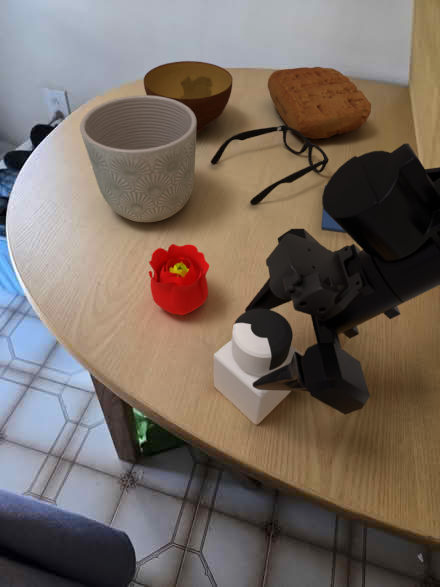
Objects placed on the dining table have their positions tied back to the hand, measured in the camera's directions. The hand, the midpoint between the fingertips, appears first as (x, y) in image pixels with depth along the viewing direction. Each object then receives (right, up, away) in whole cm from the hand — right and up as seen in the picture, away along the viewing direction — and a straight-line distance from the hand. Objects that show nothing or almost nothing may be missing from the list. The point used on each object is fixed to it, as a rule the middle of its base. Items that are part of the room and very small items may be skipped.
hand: (251, 347), depth 45 cm
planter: (-15, +21, +29) cm, 39 cm away
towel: (+20, +20, +29) cm, 40 cm away
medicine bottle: (+1, -6, +7) cm, 9 cm away
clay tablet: (+18, +44, +50) cm, 69 cm away
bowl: (-10, +42, +47) cm, 64 cm away
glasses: (+6, +29, +37) cm, 47 cm away
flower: (-9, +4, +15) cm, 18 cm away
